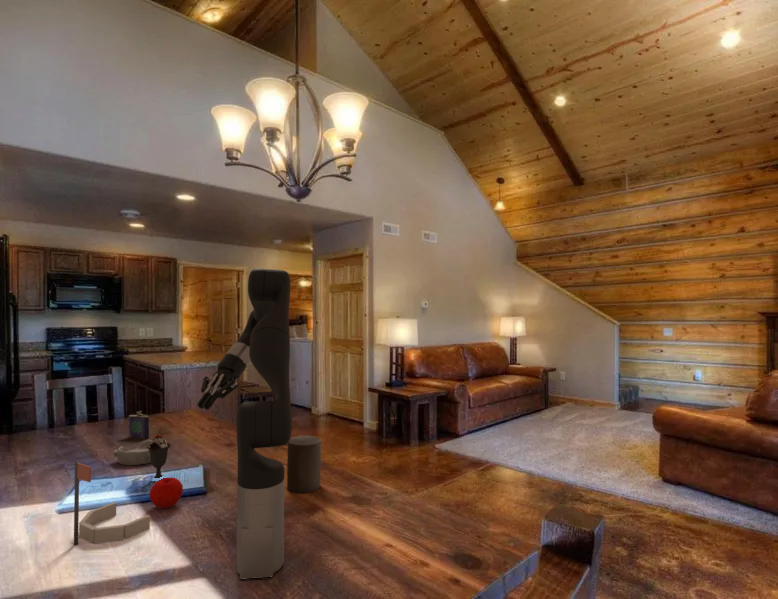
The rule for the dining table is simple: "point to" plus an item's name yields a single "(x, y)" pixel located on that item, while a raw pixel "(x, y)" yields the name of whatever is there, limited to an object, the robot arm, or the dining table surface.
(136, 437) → the flask
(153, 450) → the sundae
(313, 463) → the pillar candle
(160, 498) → the apple
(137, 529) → the cup
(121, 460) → the dish
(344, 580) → the dining table surface
